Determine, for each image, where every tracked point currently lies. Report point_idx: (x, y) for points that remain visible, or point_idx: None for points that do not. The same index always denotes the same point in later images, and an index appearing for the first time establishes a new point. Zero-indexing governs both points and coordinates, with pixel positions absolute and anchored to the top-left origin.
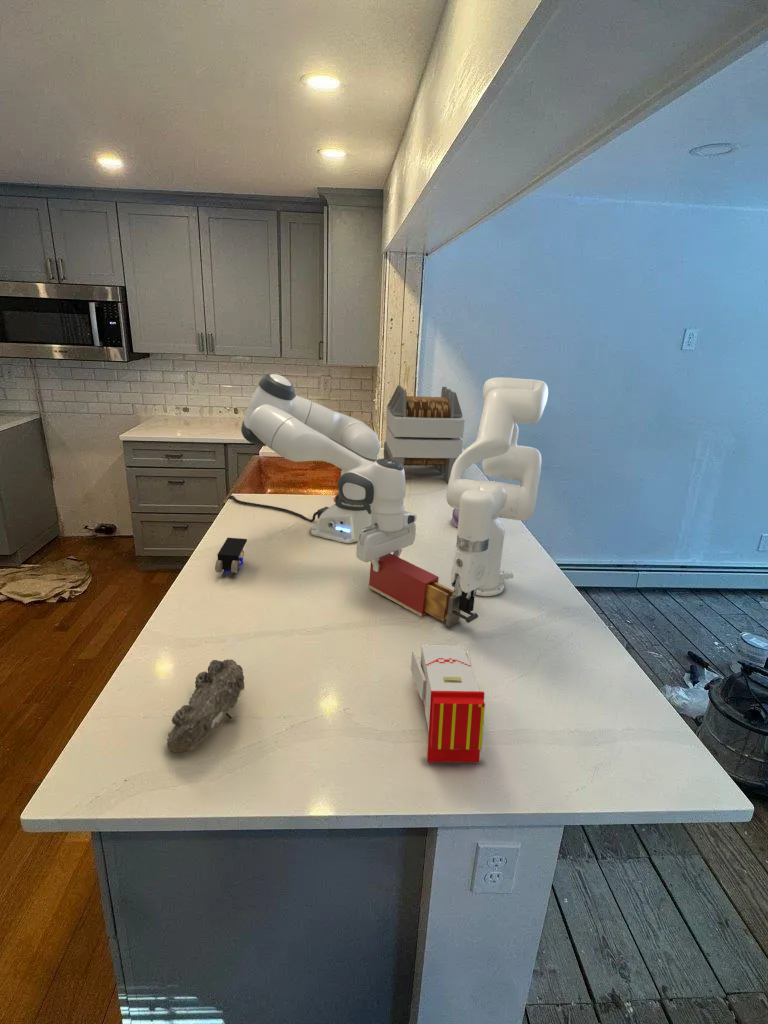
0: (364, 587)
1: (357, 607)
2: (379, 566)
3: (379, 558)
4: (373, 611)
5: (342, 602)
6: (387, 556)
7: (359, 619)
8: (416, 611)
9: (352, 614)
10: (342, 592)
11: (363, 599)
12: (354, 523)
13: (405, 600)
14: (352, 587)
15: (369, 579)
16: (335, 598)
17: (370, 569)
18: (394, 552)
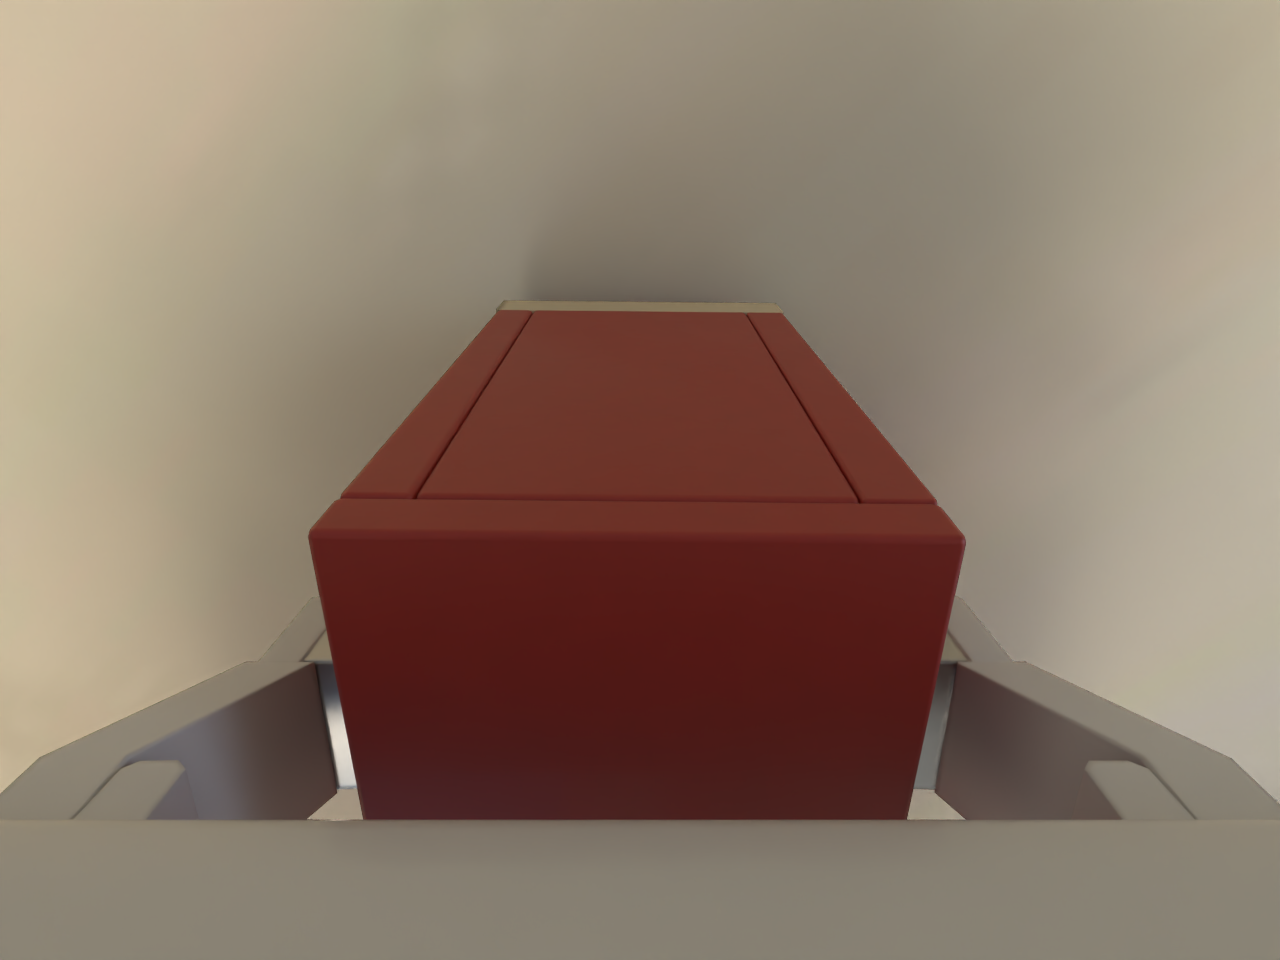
0: (531, 186)
1: (150, 493)
2: (346, 775)
3: (426, 760)
4: (252, 648)
5: (48, 293)
6: (698, 802)
7: (43, 660)
8: None
9: (25, 557)
10: (185, 76)
11: (316, 411)
12: None
13: None
14: (395, 60)
15: (479, 333)
16: (12, 145)
17: (434, 393)
18: (1062, 755)
